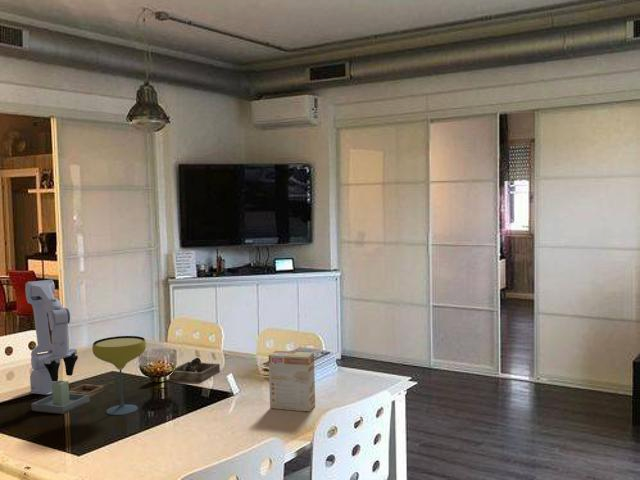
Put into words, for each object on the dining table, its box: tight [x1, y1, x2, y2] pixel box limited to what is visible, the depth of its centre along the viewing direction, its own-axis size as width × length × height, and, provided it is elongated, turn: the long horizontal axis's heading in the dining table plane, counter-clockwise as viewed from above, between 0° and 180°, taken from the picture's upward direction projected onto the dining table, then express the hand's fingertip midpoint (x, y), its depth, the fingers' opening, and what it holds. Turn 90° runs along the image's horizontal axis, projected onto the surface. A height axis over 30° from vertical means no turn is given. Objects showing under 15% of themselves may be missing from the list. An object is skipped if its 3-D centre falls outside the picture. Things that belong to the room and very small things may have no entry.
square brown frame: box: [69, 383, 107, 398], centre depth 248 cm, size 10×10×2 cm
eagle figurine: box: [183, 357, 202, 372], centre depth 271 cm, size 8×7×9 cm
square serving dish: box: [168, 361, 221, 383], centre depth 268 cm, size 15×15×4 cm
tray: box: [30, 393, 91, 415], centre depth 232 cm, size 14×14×2 cm
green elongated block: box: [51, 380, 70, 406], centre depth 232 cm, size 4×4×8 cm
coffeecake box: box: [268, 350, 316, 413], centre depth 225 cm, size 15×7×20 cm, turn 71°
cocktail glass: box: [92, 335, 147, 416], centre depth 225 cm, size 18×18×25 cm
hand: (62, 378), depth 233 cm, fingers open, 7 cm apart
